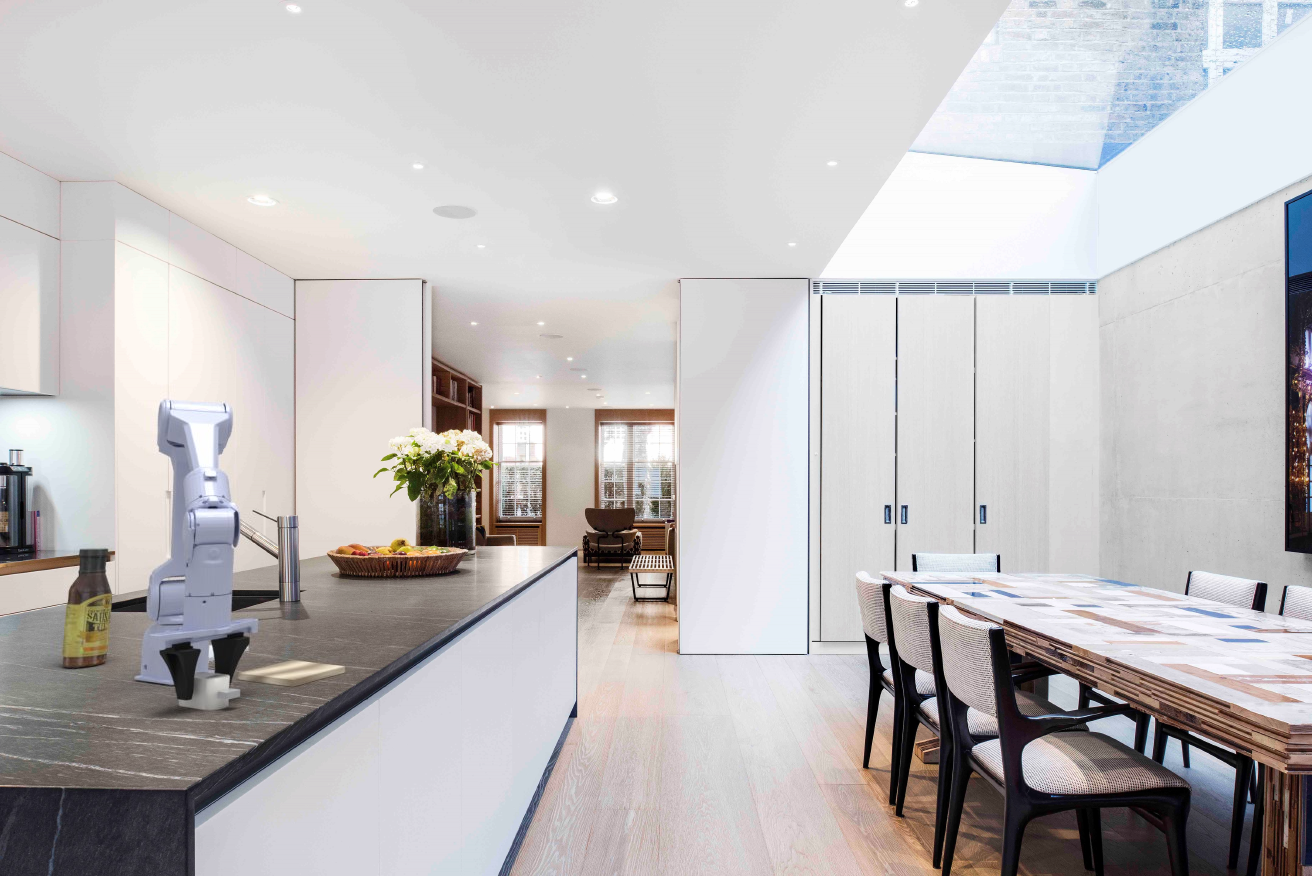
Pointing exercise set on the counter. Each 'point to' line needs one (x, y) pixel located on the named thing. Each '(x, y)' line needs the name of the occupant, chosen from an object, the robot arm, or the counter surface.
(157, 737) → the counter surface
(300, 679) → the birch board
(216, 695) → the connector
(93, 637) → the sauce bottle
